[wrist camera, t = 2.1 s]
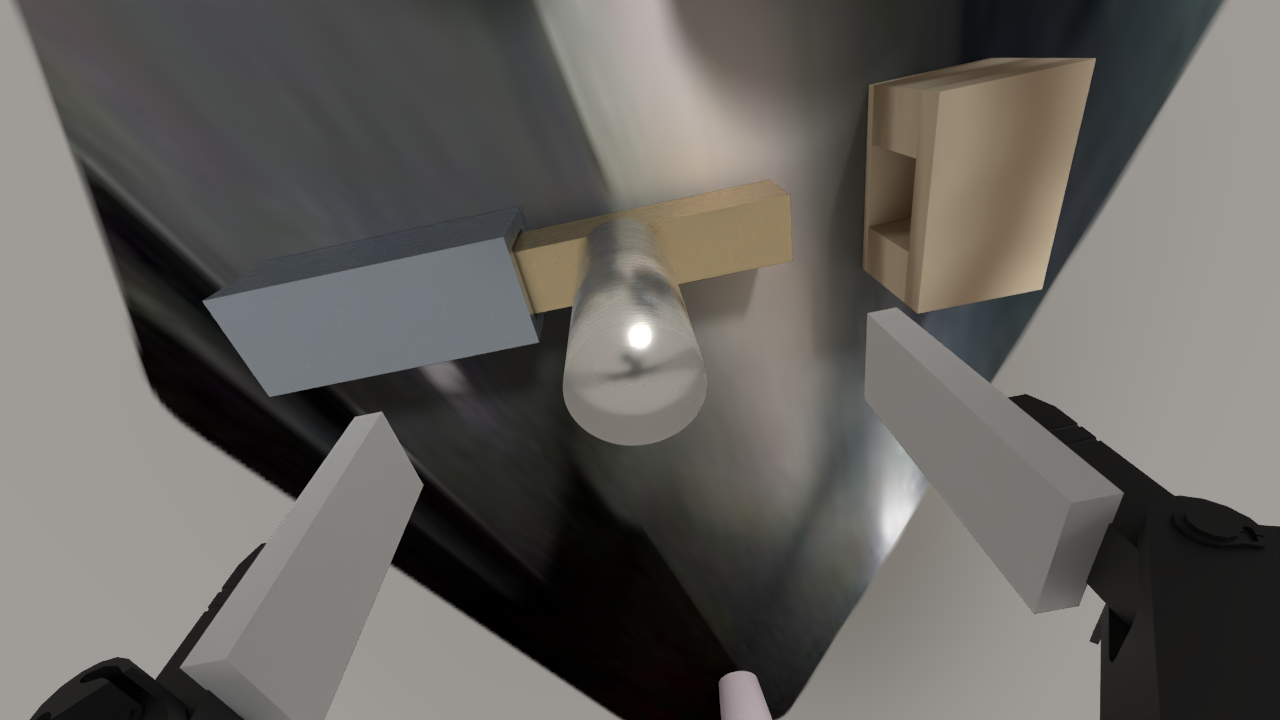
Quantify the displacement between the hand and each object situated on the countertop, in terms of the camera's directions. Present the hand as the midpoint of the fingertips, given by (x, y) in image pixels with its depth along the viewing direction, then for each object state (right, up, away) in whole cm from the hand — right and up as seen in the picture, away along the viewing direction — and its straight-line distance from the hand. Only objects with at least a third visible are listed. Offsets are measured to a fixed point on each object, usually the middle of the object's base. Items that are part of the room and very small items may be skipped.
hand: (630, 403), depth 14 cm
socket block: (+14, +11, +11) cm, 21 cm away
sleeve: (-12, +5, +13) cm, 18 cm away
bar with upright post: (-5, +6, +11) cm, 14 cm away
